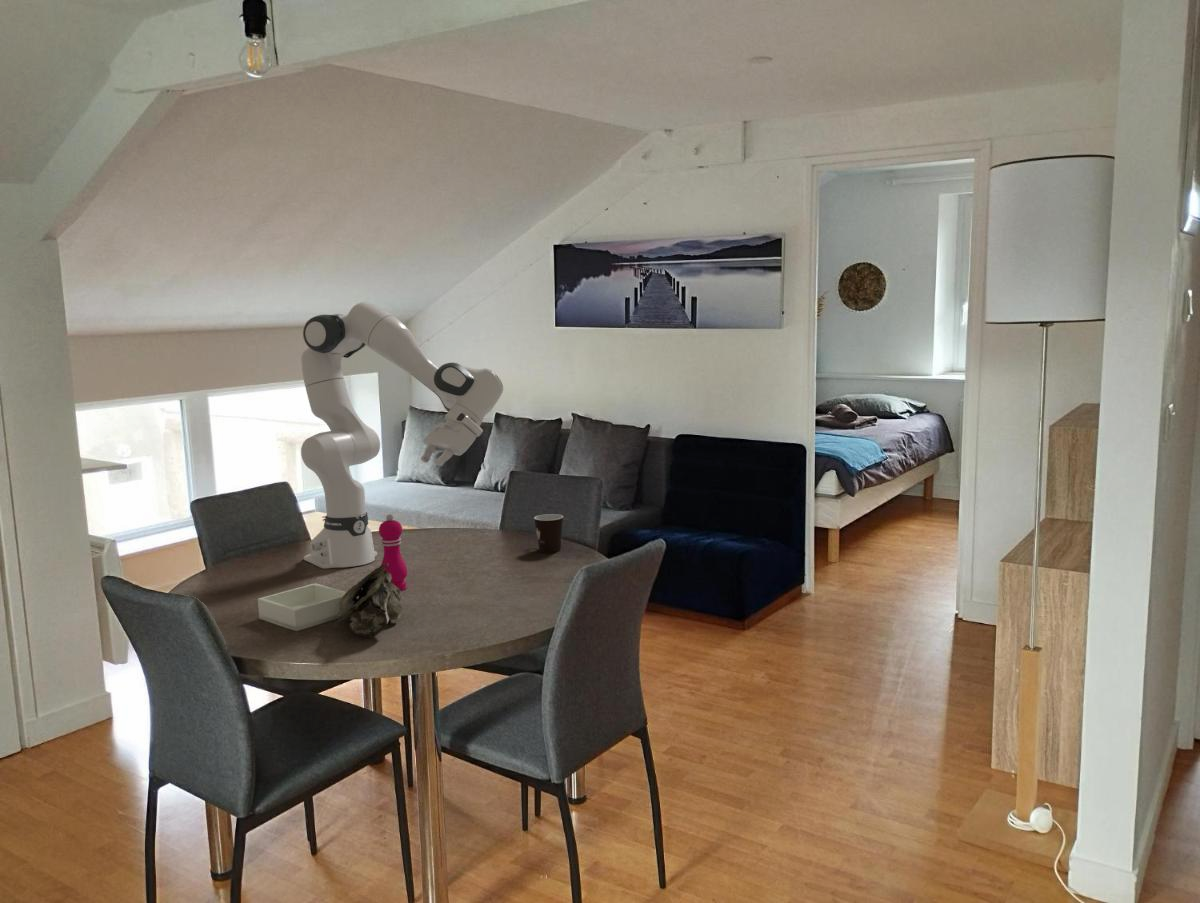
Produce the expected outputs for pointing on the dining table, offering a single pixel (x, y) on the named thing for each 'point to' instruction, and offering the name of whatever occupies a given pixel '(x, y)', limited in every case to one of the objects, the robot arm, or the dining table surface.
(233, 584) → the dining table surface
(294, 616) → the tray
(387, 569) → the pepper mill
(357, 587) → the hollow geode rock
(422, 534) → the dining table surface
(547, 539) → the dark brown cup
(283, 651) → the dining table surface
